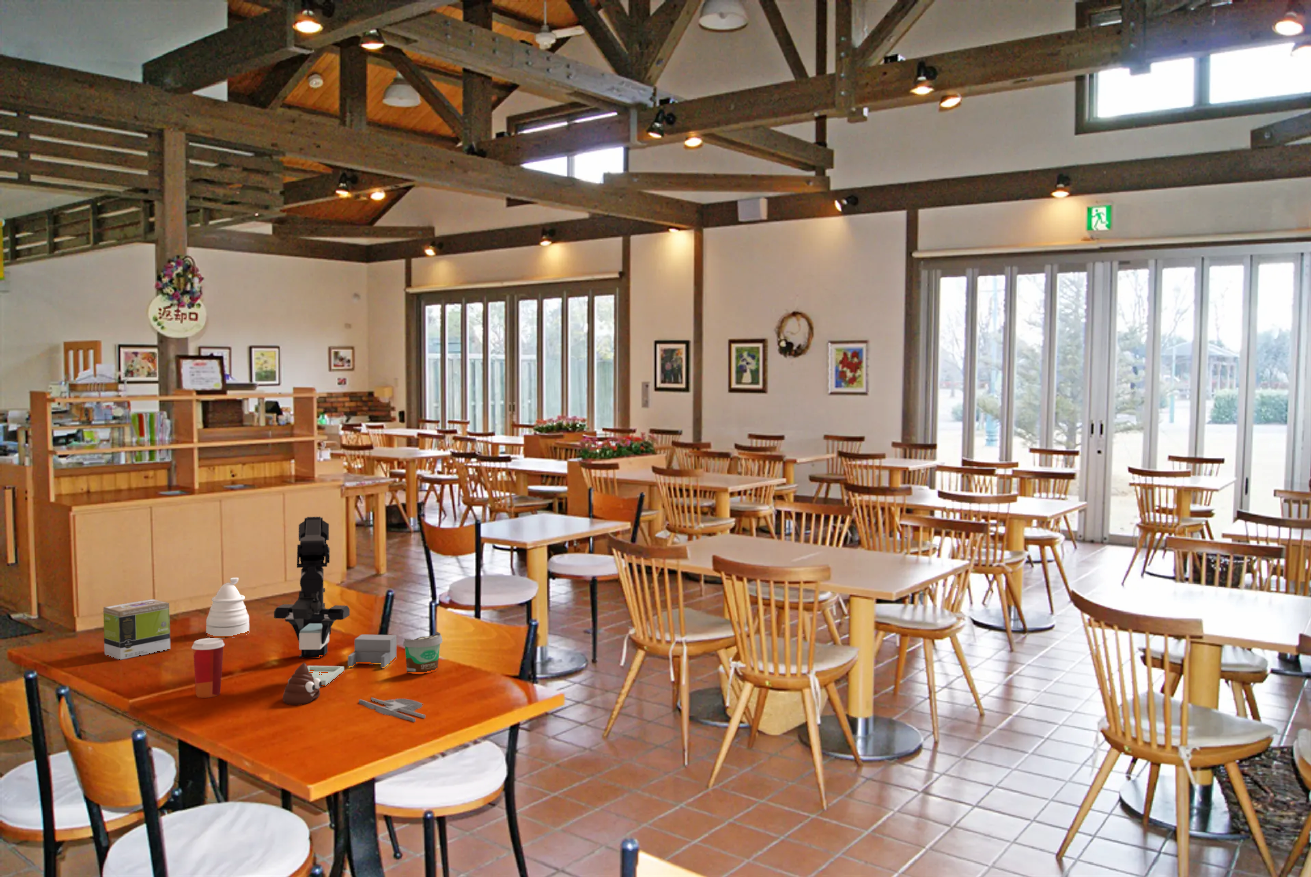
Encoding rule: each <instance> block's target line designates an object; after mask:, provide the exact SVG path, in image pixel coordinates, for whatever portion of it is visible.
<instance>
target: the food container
mask: <svg viewBox="0 0 1311 877" xmlns="http://www.w3.org/2000/svg"><path fill="white" fill-rule="evenodd" d="M442 643H443V636H442V635H441V632H438V631H435V634H433V635H428V636H420V637H417V638H415V639H410V638H404V640H403V644H402V647H404V649H405V650H404V652H405V664H406V673H407V672H427V671H431V670H435V669H436V668H438V669H439V658H440V647H441V646H440V645H441V644H442Z"/></svg>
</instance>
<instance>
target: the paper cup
mask: <svg viewBox="0 0 1311 877" xmlns="http://www.w3.org/2000/svg"><path fill="white" fill-rule="evenodd" d="M224 646H225V642H224V640H223V638H210V637H207V638H206V637H205V638H200V639H198V640H197V639H196V640H195V641H193V644H192V646H191V649H192V651H193V666H194V668H193V670H194V684H195V695H196V697H197V698H199V699H208V698H209V699H210V698H215V697H217V696H219V695H220V694H221V685H222V674H223V658H224V657H223V655H224Z"/></svg>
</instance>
